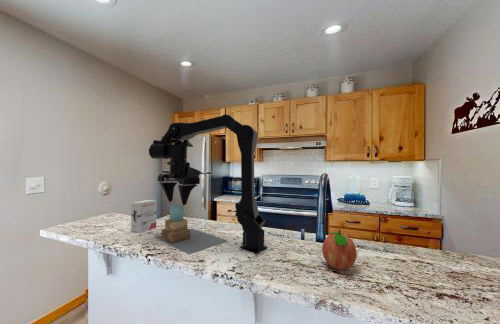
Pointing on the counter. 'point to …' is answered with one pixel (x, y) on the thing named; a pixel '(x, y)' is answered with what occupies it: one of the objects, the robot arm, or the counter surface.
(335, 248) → the fruit
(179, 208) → the teal cylinder
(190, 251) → the slate mat
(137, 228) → the ink box
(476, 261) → the counter surface
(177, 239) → the walnut base block
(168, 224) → the oak block
